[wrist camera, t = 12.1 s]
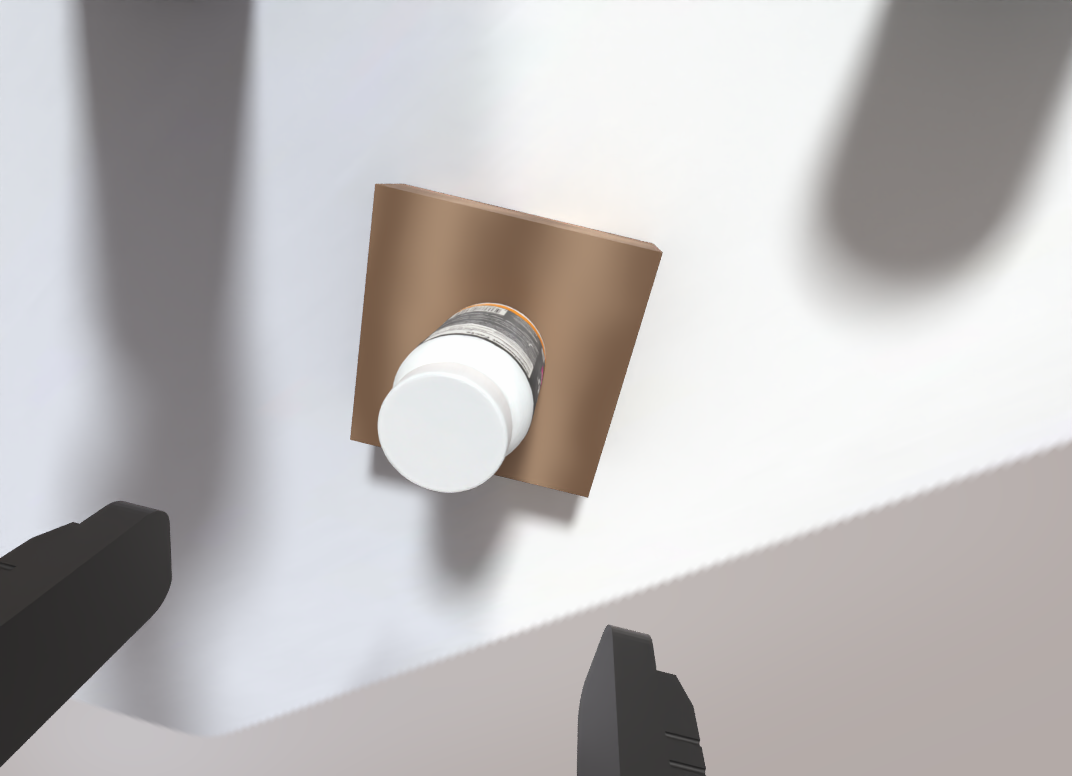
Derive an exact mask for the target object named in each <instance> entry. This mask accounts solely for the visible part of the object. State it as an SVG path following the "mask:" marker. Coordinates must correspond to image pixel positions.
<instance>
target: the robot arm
mask: <svg viewBox="0 0 1072 776" xmlns="http://www.w3.org/2000/svg"><path fill="white" fill-rule="evenodd" d="M171 579H172V571H171V546H170V522H169V517H168V515H167V514H166V513H165V512H163V511H160V510H156V509H152V508H148V507H144V506H140V505H136V504H132V503H128V502H124V501H116V502H113V503H110V504H109V505H107V506H105V507H104V508H102V509H101V510H99V511H98V512H96V513H95V514H93V515H92V516H90V517H89V518H87V519H86V520H84V521H83V522H81V523H80V524H78V523H74V522H72V523H69V524H67V525H64V526H62V527H59V528H56V529H54V530H51V531H49V532H46V533H44V534H41V535H38V536H36V537H33V538H31V539H29V540H28V541H26V542H25V543H23V544H22V545H20V546H18V547H17V548H15V549H14V550H12V551H11V552H9V553H7V554H6V555H4V556H3V557H1V558H0V767H1V766H2V765H3V764H4V763H5V762H6V761H7V760H8V759H9V758H10V757H11V756H12V755H13V754H14V753H15V752H16V751H17V750H18V749H19V748H20V747H21V746H22V745H23V744H24V743H25V742H26V741H27V740H28V739H29V738H30V737H31V736H32V735H33V734H34V733H35V732H36V731H37V730H38V729H39V728H40V727H41V726H42V725H43V724H44V723H45V722H46V721H47V720H48V719H49V718H50V717H51V716H52V715H53V714H54V713H55V712H56V711H57V710H58V709H59V708H60V707H61V706H62V705H63V704H64V703H65V702H66V701H67V700H68V699H69V698H70V697H71V696H72V695H73V694H74V693H75V692H76V691H77V690H78V689H79V688H80V687H81V686H82V685H83V684H84V683H85V682H86V681H87V680H88V679H89V678H90V677H91V676H92V675H93V674H94V673H95V672H96V671H97V670H98V669H99V668H100V667H101V666H102V665H103V664H104V663H105V662H106V661H107V660H108V659H109V658H110V657H111V656H112V655H113V654H114V653H115V652H116V651H117V650H118V649H119V648H120V647H121V646H122V645H123V644H124V643H125V642H126V641H127V640H128V639H129V638H130V637H131V636H132V635H134V634H135V633H136V632H137V631H138V630H139V629H140V628H141V627H142V626H143V625H144V624H145V623H146V622H147V621H148V620H149V619H150V618H151V617H152V616H153V614H154V613H155V612H156V611H157V610H158V608H159V607H160V606H161V604H162V603H163V601H164V599H165V597H166V595H167V593H168V591H169V588H170V584H171ZM699 742H700V738H699V732H698V728H697V722H696V718H695V713H694V708H693V705H692V703H691V701H690V700H689V698H688V696H687V694H686V693H685V691H684V689H683V687H682V685H681V684H680V682H679V680H678V678H677V677H676V675H673V674H669V673H665V672H661V671H657V670H656V663H655V656H654V650H653V643H652V639H651V637H650V636H649V635H648V634H644V633H640V632H636V631H632V630H628V629H623V628H620V627H616V626H612V625H607V626H606V628H605V630H604V632H603V635H602V637H601V640H600V643H599V645H598V648H597V651H596V653H595V656H594V659H593V661H592V664H591V667H590V669H589V672H588V675H587V677H586V680H585V683H584V686H583V690H582V694H581V699H580V706H579V715H578V745H577V776H706V775H705V769H706V767H705V762H704V757H703V753H702V747H700V745H699Z"/></svg>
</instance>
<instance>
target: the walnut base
mask: <svg viewBox="0 0 1072 776" xmlns="http://www.w3.org/2000/svg"><path fill="white" fill-rule="evenodd" d="M662 253H663V252H662V251H660V250H659V249H658V248H657V247H656V246H655V245H654V244H652V243H648V242H644V241H640V240H636V239H632V238H627V237H623V236H619V235H615V234H611V233H606V232H602V231H598V230H594V229H590V228H586V227H581V226H577V225H573V224H569V223H565V222H561V221H556V220H552V219H548V218H544V217H540V216H535V215H531V214H527V213H523V212H519V211H515V210H510V209H506V208H502V207H498V206H494V205H489V204H485V203H481V202H477V201H473V200H469V199H464V198H460V197H456V196H452V195H448V194H444V193H439V192H435V191H431V190H427V189H423V188H418V187H414V186H410V185H406V184H375V192H374V202H373V213H372V223H371V233H370V243H369V253H368V264H367V274H366V284H365V294H364V304H363V315H362V325H361V335H360V345H359V355H358V366H357V376H356V386H355V396H354V406H353V417H352V427H351V437H350V440H354V441H358V442H362V443H366V444H370V445H374V446H378V447H381V444H380V441H379V436H378V416H379V412H380V408H381V406H382V403H383V401H384V399H385V398H386V396H387V395H388V393H389V392H390V391H391V390H392V388H393V383H394V379H395V376H396V374H397V371H398V369H399V367H400V366H401V364H402V363H403V361H404V360H405V359H406V358H407V356H408V355H409V354H410V353H411V352H412V351H413V350H414V349H415V348H416V347H417V346H418V345H419V344H420V343H421V342H423V341H424V340H425V339H426V338H427V337H429V336H430V335H431V334H432V333H433V332H435V331H436V330H437V329H438V328H439V327H440V326H441V325H443V323H444V322H445V321H447V320H448V319H449V318H450V317H452V316H453V315H454V314H456V313H457V312H459V311H460V310H462V309H464V308H466V307H469V306H471V305H475V304H480V303H497V304H502V305H506V306H509V307H511V308H513V309H515V310H517V311H519V312H520V313H522V314H523V315H525V316H526V317H527V318H528V319H529V320H530V321H531V322H532V323H533V324H534V326H535V327H536V328H537V330H538V332H539V333H540V335H541V338H542V340H543V343H544V347H545V353H546V365H545V372H544V376H543V381H542V384H541V388H540V391H539V395H538V400H537V403H536V407H535V410H534V415H533V418H532V422H531V425H530V428H529V431H528V433H527V435H526V436H525V437H524V439H523V440H522V441H521V443H520V444H519V445H518V446H517V447H516V448H515V449H514V450H513V451H512V452H511V453H510V454H508V455H507V456H506V457H505V458H504V460H503V462H502V464H501V466H500V467H499V469H498V470H497V471H496V473H495V474H494V475H498V476H502V477H506V478H510V479H514V480H518V481H522V482H526V483H531V484H535V485H539V486H543V487H547V488H551V489H555V490H559V491H563V492H568V493H572V494H576V495H580V496H584V497H588V496H589V492H590V489H591V486H592V483H593V479H594V476H595V473H596V470H597V466H598V463H599V460H600V456H601V453H602V450H603V447H604V443H605V440H606V437H607V433H608V430H609V427H610V424H611V420H612V417H613V414H614V411H615V407H616V404H617V401H618V397H619V394H620V391H621V388H622V384H623V381H624V378H625V374H626V371H627V368H628V365H629V361H630V358H631V355H632V352H633V348H634V345H635V342H636V338H637V335H638V332H639V329H640V325H641V322H642V319H643V315H644V312H645V309H646V306H647V302H648V299H649V296H650V293H651V289H652V286H653V283H654V279H655V276H656V273H657V270H658V266H659V263H660V260H661V256H662Z"/></svg>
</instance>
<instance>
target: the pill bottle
mask: <svg viewBox="0 0 1072 776" xmlns="http://www.w3.org/2000/svg"><path fill="white" fill-rule="evenodd" d="M545 365H546V353H545V347H544V343H543V340H542V338H541V335H540V333H539V332H538V330H537V328H536V327H535V326H534V324H533V323H532V322H531V321H530V320H529V319H528V318H527V317H526V316H525V315H523V314H522V313H520V312H519V311H517V310H515V309H513V308H511V307H509V306H506V305H502V304H497V303H480V304H475V305H471V306H469V307H466V308H464V309H462V310H460V311H459V312H457V313H456V314H454V315H453V316H452V317H450V318H449V319H448V320H447V321H445V322H444V323H443V325H441V326H440V327H439V328H438V329H437V330H436V331H435V332H433V333H432V334H431V335H430V336H429V337H427V338H426V339H425V340H424V341H423V342H421V343H420V344H419V345H418V346H417V347H416V348H415V349H414V350H413V351H412V352H411V353H410V354H409V355H408V356H407V358H406V359H405V360H404V361H403V363H402V364H401V366H400V367H399V369H398V371H397V374H396V376H395V379H394V383H393V388H392V390H391V391H390V392H389V393H388V395H387V396H386V398H385V399H384V401H383V403H382V406H381V408H380V412H379V416H378V436H379V441H380V444H381V447H382V449H383V452H384V454H385V455H386V457H387V459H388V460H389V462H390V463H391V464H392V465H393V467H394V468H395V469H396V470H397V471H398V472H399V473H400V474H401V475H402V476H404V477H405V478H406V479H408V480H409V481H411V482H412V483H414V484H416V485H418V486H420V487H423V488H425V489H428V490H432V491H437V492H443V493H455V492H462V491H467V490H470V489H473V488H475V487H477V486H479V485H481V484H483V483H484V482H486V481H487V480H488V479H490V478H491V477H492V476H493V475H494V474H495V473H496V471H497V470H498V469H499V467H500V466H501V464H502V462H503V460H504V458H505V457H506V456H507V455H508V454H510V453H511V452H512V451H513V450H514V449H515V448H516V447H517V446H518V445H519V444H520V443H521V441H522V440H523V439H524V437H525V436H526V435H527V433H528V431H529V428H530V425H531V422H532V418H533V415H534V410H535V407H536V403H537V400H538V395H539V391H540V388H541V384H542V381H543V376H544V372H545Z"/></svg>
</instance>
